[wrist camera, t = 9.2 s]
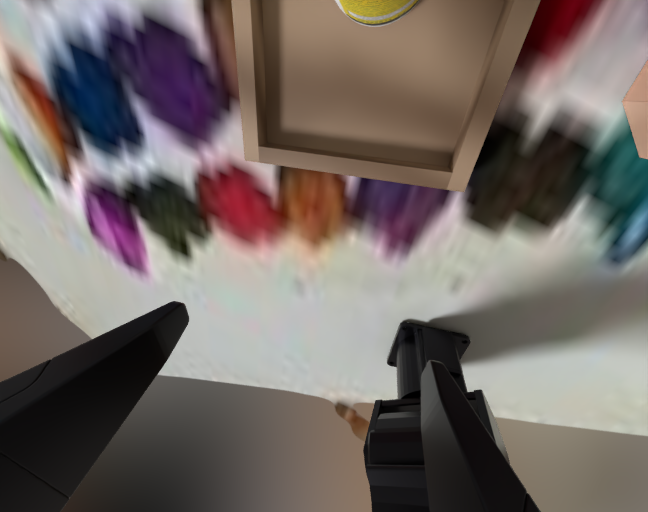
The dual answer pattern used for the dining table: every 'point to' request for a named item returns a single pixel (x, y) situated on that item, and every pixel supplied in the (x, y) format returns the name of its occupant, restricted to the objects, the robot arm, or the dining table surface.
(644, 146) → the tan octagonal bowl
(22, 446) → the robot arm
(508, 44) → the tray
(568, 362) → the dining table surface
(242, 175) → the dining table surface
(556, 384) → the dining table surface
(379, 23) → the supplement bottle
